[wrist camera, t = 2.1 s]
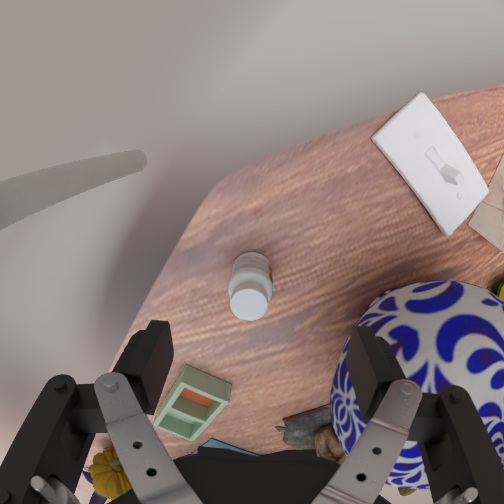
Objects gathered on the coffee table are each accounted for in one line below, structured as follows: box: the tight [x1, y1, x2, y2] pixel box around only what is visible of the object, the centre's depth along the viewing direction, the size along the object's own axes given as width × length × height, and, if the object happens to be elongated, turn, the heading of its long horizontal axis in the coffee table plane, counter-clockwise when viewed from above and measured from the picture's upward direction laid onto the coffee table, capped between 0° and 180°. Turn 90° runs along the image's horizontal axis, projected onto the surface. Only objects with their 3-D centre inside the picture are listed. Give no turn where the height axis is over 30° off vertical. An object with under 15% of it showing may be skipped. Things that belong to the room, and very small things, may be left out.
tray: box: [152, 365, 231, 442], centre depth 41 cm, size 7×13×4 cm, turn 150°
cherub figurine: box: [276, 404, 347, 465], centre depth 37 cm, size 18×18×18 cm
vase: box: [330, 280, 504, 489], centre depth 22 cm, size 22×22×30 cm
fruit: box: [89, 448, 132, 500], centre depth 46 cm, size 14×16×20 cm
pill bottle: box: [228, 252, 273, 321], centre depth 31 cm, size 4×4×8 cm
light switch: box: [371, 92, 489, 237], centre depth 27 cm, size 8×5×14 cm
